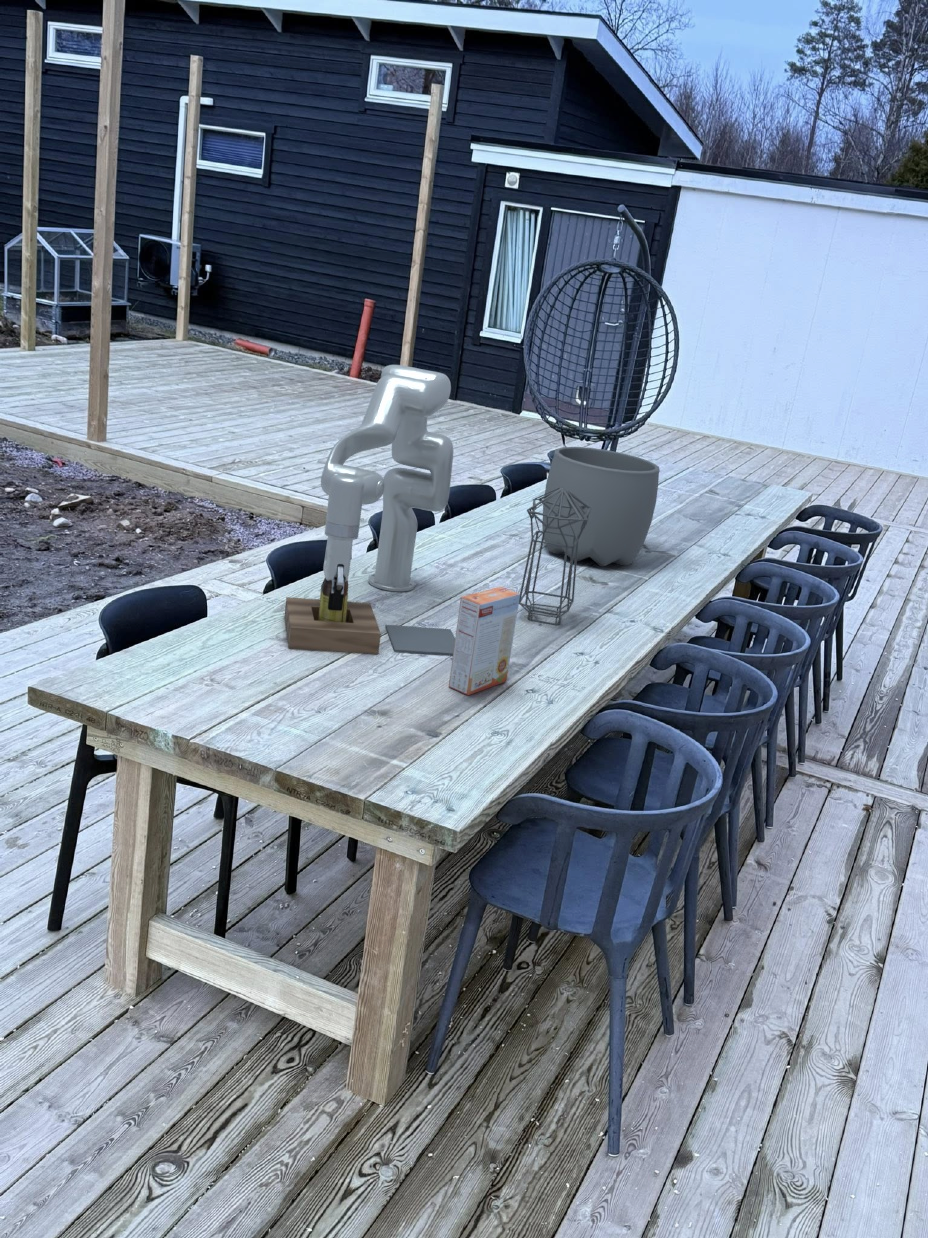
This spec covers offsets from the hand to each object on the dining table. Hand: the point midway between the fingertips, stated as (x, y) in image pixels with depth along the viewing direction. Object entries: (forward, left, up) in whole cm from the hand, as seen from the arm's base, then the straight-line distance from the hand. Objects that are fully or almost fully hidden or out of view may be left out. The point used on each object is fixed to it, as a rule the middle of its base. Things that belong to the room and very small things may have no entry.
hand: (333, 603), depth 257 cm
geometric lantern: (-23, +57, -8) cm, 62 cm away
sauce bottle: (0, 0, -8) cm, 8 cm away
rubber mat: (0, +22, -8) cm, 23 cm away
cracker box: (+24, +30, -8) cm, 39 cm away
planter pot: (-86, +90, -8) cm, 125 cm away
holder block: (0, 0, -8) cm, 8 cm away
